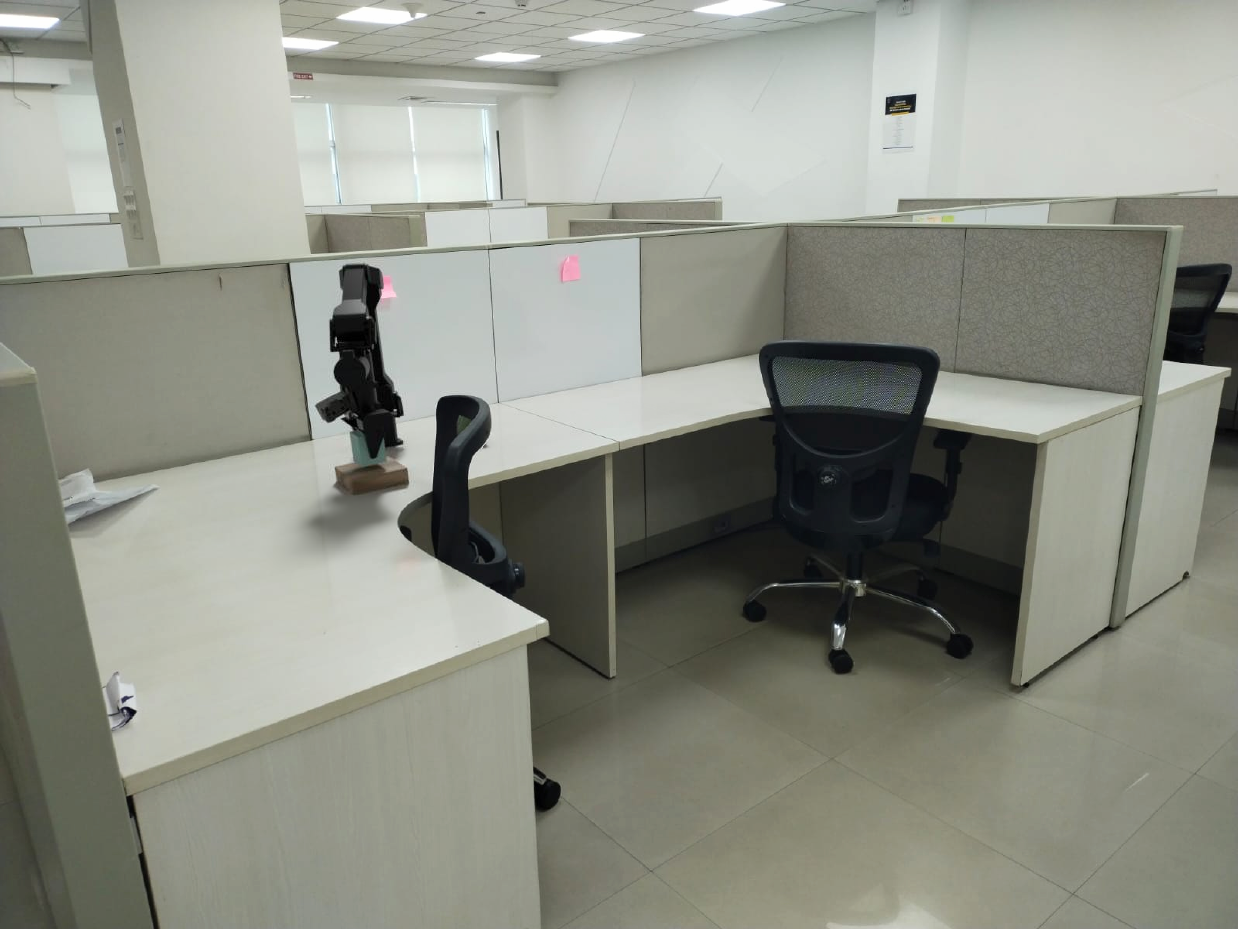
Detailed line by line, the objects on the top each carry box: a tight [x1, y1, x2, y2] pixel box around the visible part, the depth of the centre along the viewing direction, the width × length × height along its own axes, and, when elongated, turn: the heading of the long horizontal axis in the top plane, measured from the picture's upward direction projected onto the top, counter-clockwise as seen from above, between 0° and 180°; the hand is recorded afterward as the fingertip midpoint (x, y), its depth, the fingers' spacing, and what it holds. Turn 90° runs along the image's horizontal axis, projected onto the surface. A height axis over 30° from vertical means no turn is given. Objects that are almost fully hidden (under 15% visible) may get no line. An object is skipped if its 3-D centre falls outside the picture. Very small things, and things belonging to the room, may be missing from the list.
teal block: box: [349, 430, 387, 467], centre depth 173 cm, size 5×5×6 cm
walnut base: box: [334, 455, 410, 496], centre depth 174 cm, size 11×11×3 cm
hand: (369, 455), depth 173 cm, fingers closed on teal block, 5 cm apart
